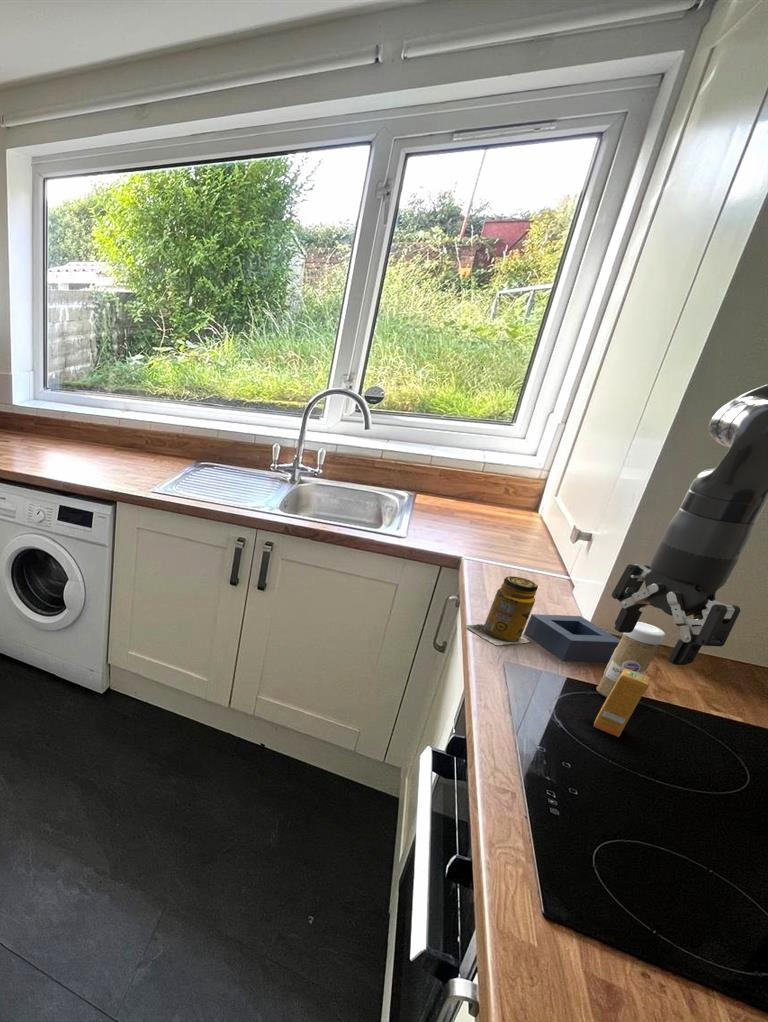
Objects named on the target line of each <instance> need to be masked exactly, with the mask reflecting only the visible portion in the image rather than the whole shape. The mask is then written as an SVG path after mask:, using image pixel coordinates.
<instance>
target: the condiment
mask: <svg viewBox="0 0 768 1022" xmlns="http://www.w3.org/2000/svg"><path fill="white" fill-rule="evenodd" d="M538 588H539V586H538V585H537V583H536V582H534V581H532V580H530V579H527V578H524V577H520V576H511V575H510V576H505V578H503V582H502V584H501V585H500V588H498V589H497V590H496V593H495V595H494V599H493V601H492V603H491V606H490V609H489V612H488V615H487V617H486V620H485V622H484V623H477V624H466V625H464V627H465V628H467V629H468V630H470V631H471V632H473V633H475V634H476V635H478V637H481V638H482V639H484V640H486V641H488V642H489V643H491V644H493V645H494V646H503V645H517V644H527V643H531V642H532V641H531V640H529V639H528V638H525V637H524V636H522V634H523V633H524V631H525V628H526V626H527V624H528V621H529V619H530V616H531V614H532V613H531V612H532V610H533V608H534V605H535V602H536V597H535V596H536V595H537V590H538Z"/></svg>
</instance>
